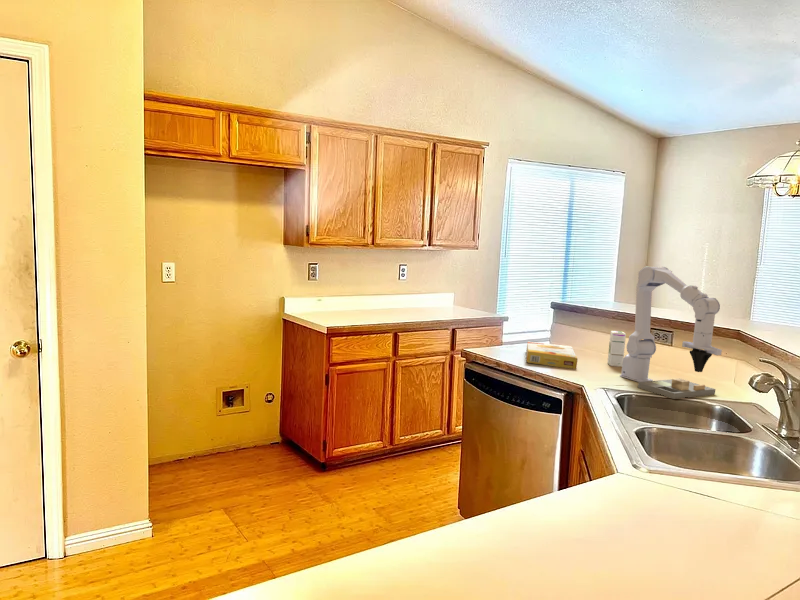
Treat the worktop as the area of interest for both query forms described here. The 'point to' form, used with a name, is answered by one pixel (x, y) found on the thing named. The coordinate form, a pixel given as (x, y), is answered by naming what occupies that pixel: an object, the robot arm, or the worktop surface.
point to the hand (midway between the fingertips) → (698, 371)
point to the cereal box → (551, 355)
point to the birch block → (680, 384)
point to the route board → (666, 389)
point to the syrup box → (616, 348)
